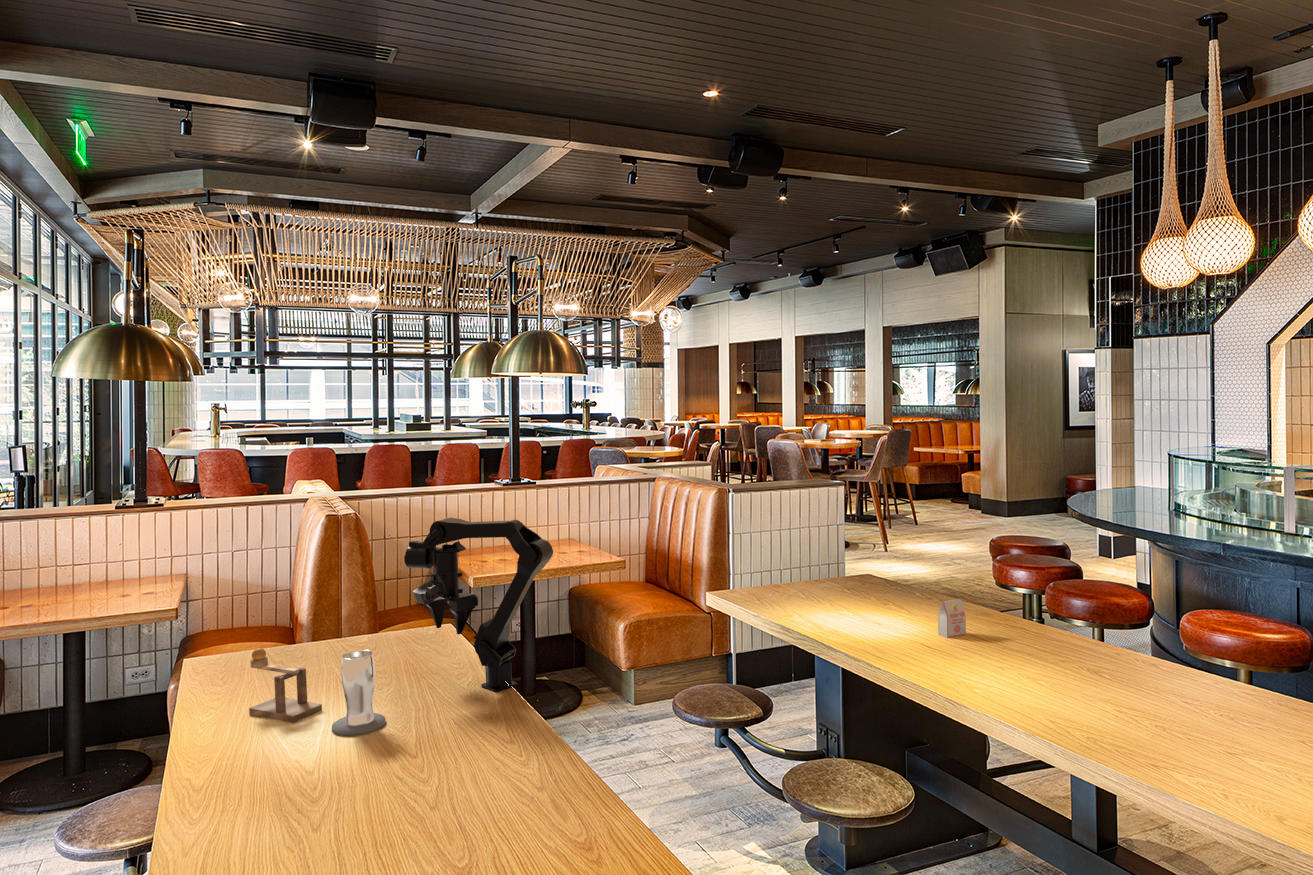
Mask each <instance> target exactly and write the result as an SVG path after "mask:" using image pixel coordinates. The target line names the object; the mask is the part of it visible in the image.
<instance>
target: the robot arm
mask: <svg viewBox="0 0 1313 875" xmlns="http://www.w3.org/2000/svg"><path fill="white" fill-rule="evenodd" d="M483 538H484V539H486V538H489V539H490V538H505V539H506V540H508V542H509V544H510V546H511V547H512V549H513V551H514V552H515V553H516V554H517V555H518V558H517V563H516V572H515V575H514V576H513V579H512V581H511V583H510V585H509V587H508V588H507V591H506V592H505V594H504V597H502V598H503V599H502V600H501V602H500V604H499V605H498V608H497V610H496V611H495V614H494V616H493V618H490V619H489V620H487V621H484V622H483V623H481V624H480V626H479V627H478V631H477V633H476V634H475V635H474V636H473V638H472V639H473V640H474V641H473V648H474V651H475V653H476V654H477V657H478V659H479V661H480V664H481V666H483V667H485V682H484V683H481V685H480V686H481V687H483V688H485V689H488V690H489V691H493V692H500V691H502V690H506V689H509V688H512V687H515V686H517V685H518V682H516V681H513V679H512V674H513V673H512V661H511V659H512V658H514V657H515V655H516V652H517V649H516V647H515V646H514V645H513V643H511V641H510V640H509V637H510V634H511V633H510V630H511V627H510V626H511V624H512V621H513V619H514V618H515V616H516V613H517V611H519V608H520V606H521V604H522V602H523V600H524V598H525V596H526V595H527V592H529V591H528V590H529V589H530V587H531V584H532V583H533V581H534V579H535V578H536V576H537V575H538V574H539V573H540V572H541V571H542V570H543V569H544V567H546V566H547V564H548V563H549V561H550V560H551V559H552V557H553V556H554V549H553V547H552V545H551V543H550V542H549V541H548V540H546V539H543V538H542V537H541V536H540V535H539V534H538V533H537V532H535V531H533V530H531V529H530V528H529V527H527V526H526V525H525V524H524V523H523V522H521V521H520V520H518V519H512V520H493V521H492V520H491V521H489V520H488V521H485V520H484V521H468V520H465V519H463V518H462V519H461V518H456V517H448V518H443V519H440V520H435V521H434V522H432V524H431V525H430V527H429V532H428V534H427V535H426V538H425V539H424V541H419V540H411V541H408V547H407V549H406V550H405V554H404V556H403V560H404V564H405V566H406V567H407V568H409V569H432V568H433V567H434V573H431V575H430V580H429V581H427V582H426V583H423V584H422V585H420V586H418V587H417V588H416V589H414V590H413V591H412V593H413V595H414V597H415V600H416V602H417V604H422V605H423V606H426V607H427V608H428V609H429V611H430V614H431V616H432V619H433V622H434V624H435V625H434V626H435V628H437V629H440V628H441V627H442V626H443V620H444V617H445V616H444V614H445V610H446V605H447V602H448V605H449V607H450V608H449V611H450V612H451V613H452V614H453V616H454V617H453V618H454V626H455V631H456V635H461V634H462V633H463V631H464V630H465V626H466V624H467V621H468V620H469V617H470V616H471V614H472V612H473V611H474V609H476V607H478V606H479V596H478V595H476V594H475V593H471V592H464V593H463V591H464V590H463V588H461V587H460V577H461V578H462V577H463V572H462V571H459V553H460V552H464V551H466V549H467V548H466V546H465V545H463V544H462V543H461V542H460V541H459V540H463V539H483ZM448 543H451V544H448ZM439 545H440V547H437V546H439ZM505 681H506V682H507V683H508V684H509V686H510V687H509V686H508V684H507V683H506V682H505Z"/></svg>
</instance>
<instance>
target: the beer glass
mask: <svg viewBox="0 0 1313 875" xmlns="http://www.w3.org/2000/svg"><path fill="white" fill-rule="evenodd" d="M340 660H341V662H340V663H341V665H340V676H341V677H340V678H341V680H340V681H341V685H342V692H343V695H344V699H345V704H346V716H345V717H346V722H345V724H346V726H348V727H363V726H367V725H369V724H371V723H373V722H374V721H375V716H374V707H373V699H374V698H373V697H374V690H375V683H376V665H375V658H374V651H373V650H369V649H356V650H352V651H351V650H350V651H347V652H345V653H343V654H342V655H341V659H340Z"/></svg>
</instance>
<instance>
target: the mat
mask: <svg viewBox="0 0 1313 875" xmlns="http://www.w3.org/2000/svg"><path fill="white" fill-rule="evenodd" d="M374 716H375V721H374V722H373V723H371V724H369V725H367V726H363V727H348V726H346V724H345V722H346V716H344V717H341V718H339V719H337V720H336V721H334V722H333V723H332V725H331V732H332V734H334V735H337V736H341V737H342V736H343V737H356V736H357V737H358V736H362V735H367V734H371V733H374V732H376V731H378V730H380V729H382V728H383V727H384V726H385V725H386V717H385V715H383V714H380V713H376V712H375V713H374Z"/></svg>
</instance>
